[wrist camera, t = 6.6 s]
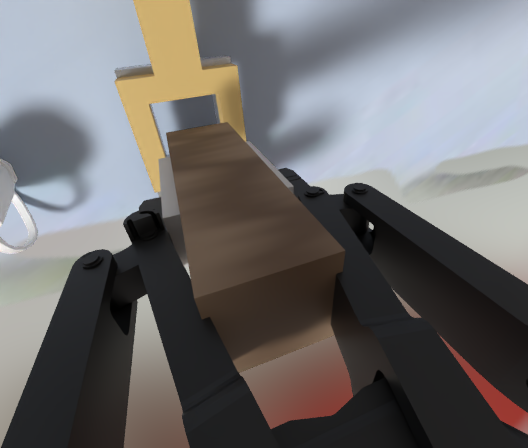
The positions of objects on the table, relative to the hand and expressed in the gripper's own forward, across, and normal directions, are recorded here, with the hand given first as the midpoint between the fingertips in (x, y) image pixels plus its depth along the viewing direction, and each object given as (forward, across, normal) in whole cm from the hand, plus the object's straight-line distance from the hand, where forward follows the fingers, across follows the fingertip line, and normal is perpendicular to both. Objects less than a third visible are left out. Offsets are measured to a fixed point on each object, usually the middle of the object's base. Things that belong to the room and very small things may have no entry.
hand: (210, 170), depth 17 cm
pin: (+3, 0, 0) cm, 3 cm away
